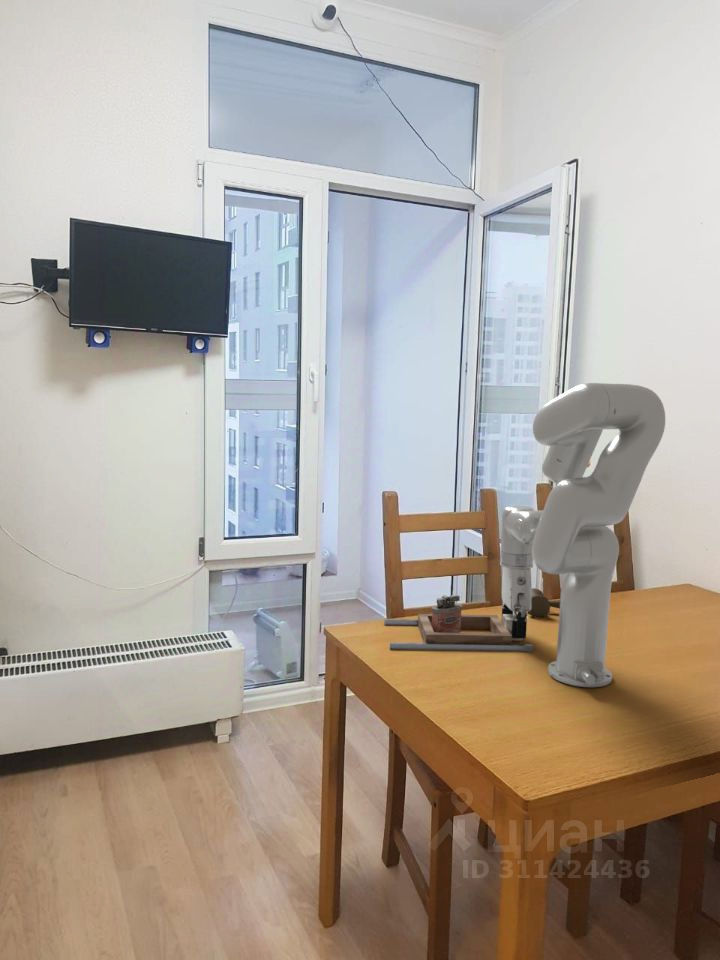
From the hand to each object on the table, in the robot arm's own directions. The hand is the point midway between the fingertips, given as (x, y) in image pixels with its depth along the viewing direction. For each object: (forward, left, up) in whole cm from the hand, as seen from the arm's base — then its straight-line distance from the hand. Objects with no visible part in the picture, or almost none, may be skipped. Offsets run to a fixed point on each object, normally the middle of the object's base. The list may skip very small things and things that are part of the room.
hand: (513, 631), depth 168 cm
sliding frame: (0, +10, -2) cm, 10 cm away
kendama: (+21, -15, -3) cm, 26 cm away
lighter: (+1, +16, -2) cm, 16 cm away
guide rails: (0, +14, -2) cm, 14 cm away
